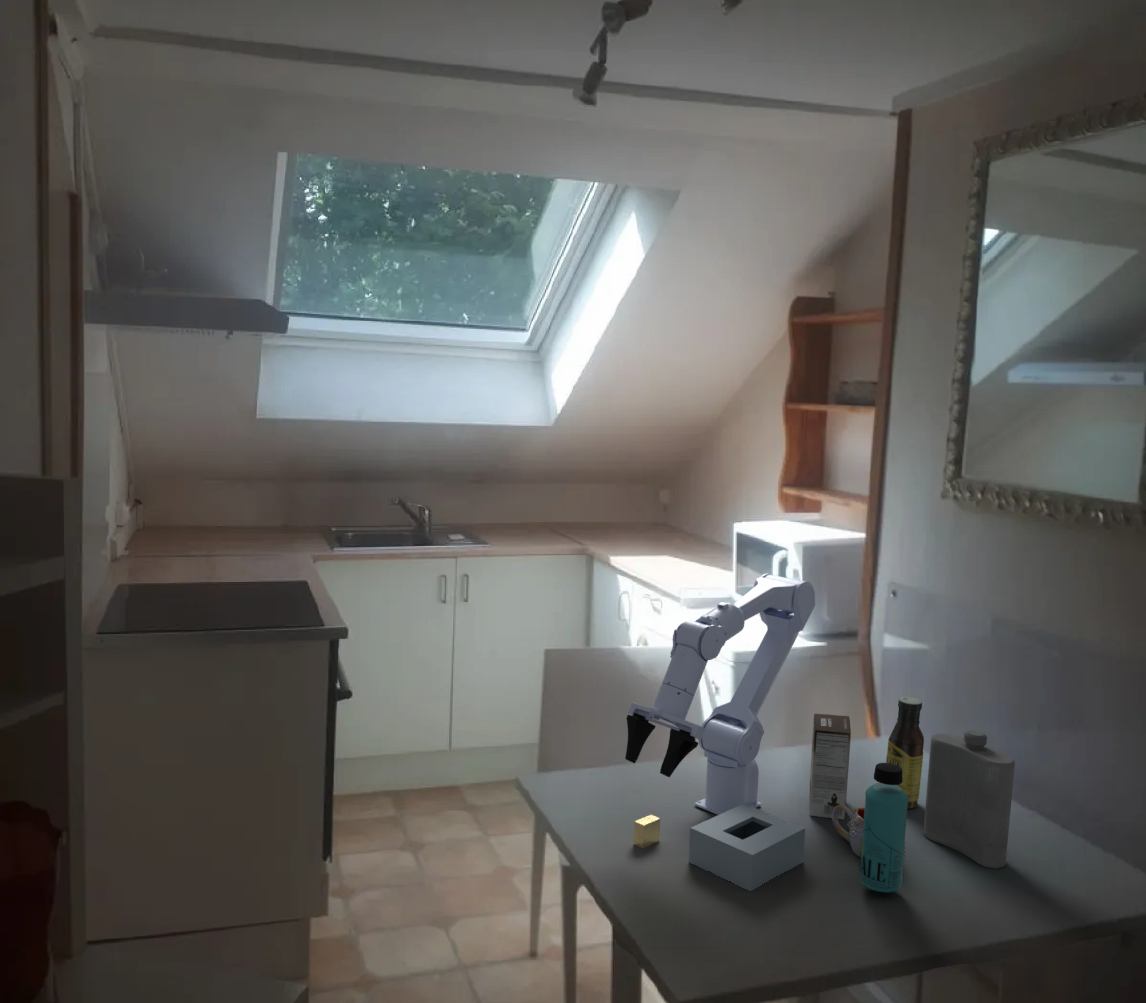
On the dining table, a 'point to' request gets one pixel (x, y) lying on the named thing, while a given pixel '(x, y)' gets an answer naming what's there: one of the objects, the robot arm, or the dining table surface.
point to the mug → (851, 827)
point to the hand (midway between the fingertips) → (646, 768)
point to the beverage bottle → (884, 830)
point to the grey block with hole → (746, 846)
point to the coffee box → (829, 764)
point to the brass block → (647, 831)
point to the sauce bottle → (908, 747)
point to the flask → (969, 797)
